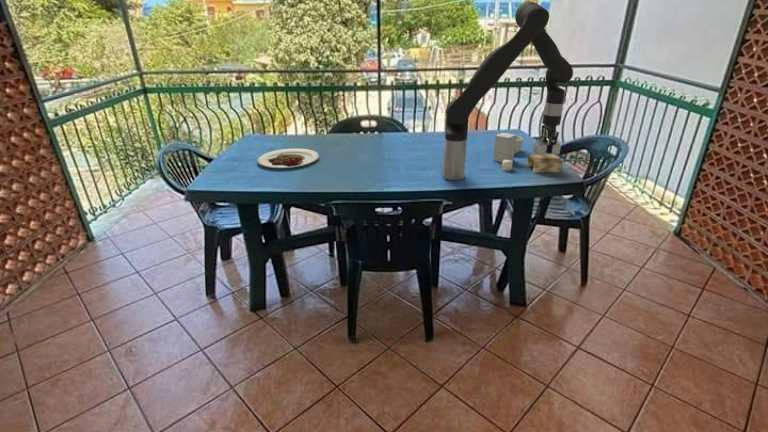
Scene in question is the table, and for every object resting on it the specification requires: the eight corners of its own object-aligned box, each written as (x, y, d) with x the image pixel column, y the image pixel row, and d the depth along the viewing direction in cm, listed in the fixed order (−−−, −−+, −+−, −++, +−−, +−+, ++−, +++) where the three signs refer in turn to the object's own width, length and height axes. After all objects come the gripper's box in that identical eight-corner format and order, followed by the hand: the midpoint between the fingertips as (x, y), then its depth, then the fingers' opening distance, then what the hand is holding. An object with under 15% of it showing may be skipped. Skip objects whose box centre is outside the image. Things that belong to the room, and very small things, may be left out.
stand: (534, 172, 184) (535, 161, 182) (526, 165, 193) (528, 155, 191) (560, 172, 184) (562, 161, 182) (552, 164, 193) (553, 154, 191)
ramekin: (518, 147, 219) (520, 134, 216) (524, 155, 207) (525, 141, 204) (493, 147, 220) (495, 134, 217) (497, 154, 209) (498, 141, 206)
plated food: (287, 149, 224) (286, 142, 222) (331, 157, 210) (330, 150, 209) (244, 164, 201) (243, 158, 200) (290, 175, 187) (289, 168, 186)
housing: (555, 150, 187) (557, 141, 185) (559, 154, 183) (561, 144, 181) (533, 151, 188) (534, 141, 186) (536, 154, 183) (538, 144, 181)
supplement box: (513, 160, 200) (517, 134, 195) (505, 163, 196) (509, 137, 190) (500, 156, 205) (503, 132, 199) (492, 160, 200) (495, 135, 195)
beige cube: (503, 171, 187) (504, 162, 185) (500, 168, 191) (501, 159, 189) (512, 171, 187) (514, 162, 185) (510, 167, 191) (511, 159, 189)
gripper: (568, 116, 171) (561, 155, 178) (554, 109, 184) (548, 146, 191) (550, 117, 171) (544, 156, 178) (538, 110, 184) (532, 146, 191)
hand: (546, 150), depth 185 cm, fingers closed on housing, 5 cm apart
